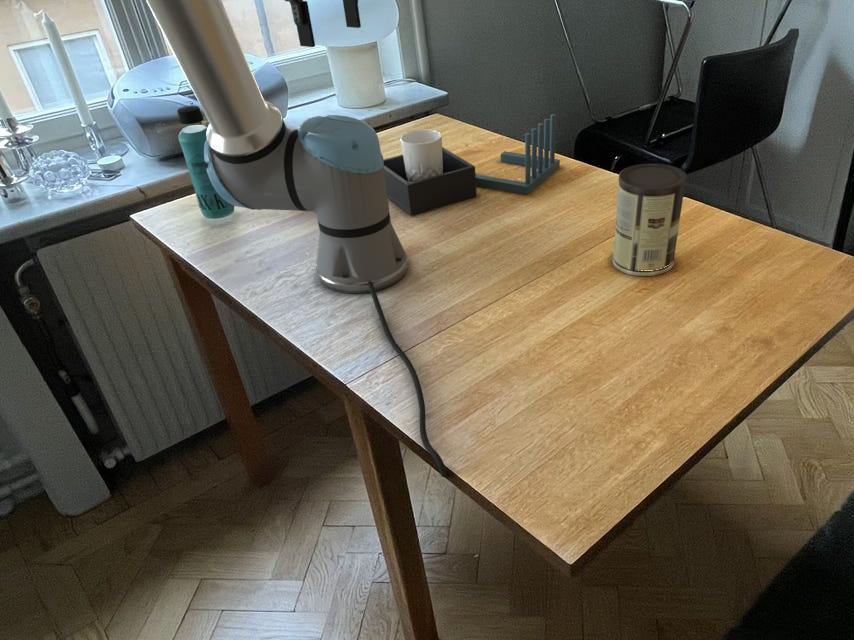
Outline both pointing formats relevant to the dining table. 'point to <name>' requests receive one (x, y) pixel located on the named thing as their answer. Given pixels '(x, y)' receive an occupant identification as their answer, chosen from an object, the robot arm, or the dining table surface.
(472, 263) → the dining table surface
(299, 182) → the robot arm
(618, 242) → the coffee can
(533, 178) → the drying rack
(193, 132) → the beverage bottle
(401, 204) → the black square tray
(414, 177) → the white cup
